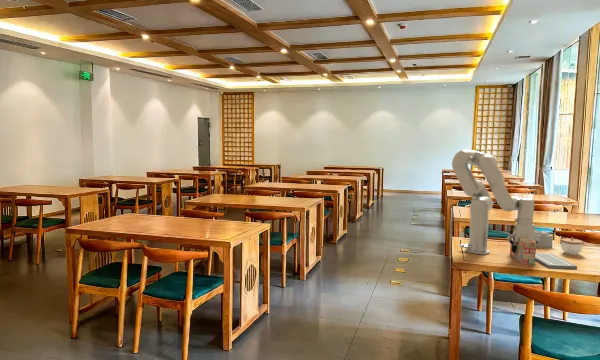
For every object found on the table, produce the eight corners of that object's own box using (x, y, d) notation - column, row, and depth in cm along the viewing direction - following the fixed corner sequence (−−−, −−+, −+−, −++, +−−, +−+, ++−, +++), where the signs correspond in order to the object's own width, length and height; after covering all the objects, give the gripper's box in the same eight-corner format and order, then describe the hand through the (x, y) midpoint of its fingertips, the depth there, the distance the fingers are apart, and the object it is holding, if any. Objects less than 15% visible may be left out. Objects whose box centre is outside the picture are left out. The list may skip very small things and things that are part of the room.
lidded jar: (559, 250, 246) (561, 234, 245) (581, 252, 240) (582, 237, 240) (560, 254, 237) (561, 238, 236) (582, 257, 231) (584, 240, 230)
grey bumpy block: (554, 247, 252) (555, 233, 251) (533, 247, 251) (534, 233, 251) (543, 243, 263) (544, 229, 262) (523, 243, 262) (524, 229, 261)
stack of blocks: (509, 253, 236) (510, 232, 235) (521, 254, 235) (522, 233, 234) (521, 264, 215) (523, 241, 214) (535, 265, 214) (536, 242, 213)
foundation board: (548, 268, 209) (548, 265, 209) (525, 255, 233) (525, 252, 233) (577, 269, 209) (577, 266, 208) (550, 255, 232) (551, 253, 232)
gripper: (511, 222, 219) (509, 254, 221) (545, 223, 218) (542, 255, 220) (505, 219, 227) (503, 250, 228) (537, 220, 226) (535, 251, 228)
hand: (522, 252), depth 224 cm, fingers open, 8 cm apart
